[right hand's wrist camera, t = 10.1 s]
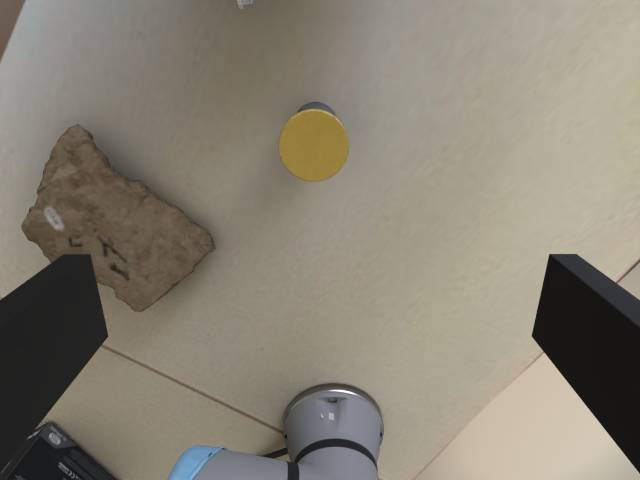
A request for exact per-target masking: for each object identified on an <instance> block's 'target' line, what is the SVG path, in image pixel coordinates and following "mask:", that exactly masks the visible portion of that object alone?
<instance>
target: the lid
mask: <svg viewBox="0 0 640 480" xmlns="http://www.w3.org/2000/svg"><path fill="white" fill-rule="evenodd" d="M348 151H349V142H348V137H347V134H346V131H345V129H344V127H343V125H342V123H341V122H340V121H339V120H338V119H337V118H336V117H335V116H334V115H332V114H331V113H329V112H327V111H324V110H320V109H308V110H304V111H301V112H299V113H297V114H296V115H294V116H293V117H292V118H291V119H290V120H289V121H288V122H287V123H286V125H285V127H284V128H283V130H282V132H281V135H280V139H279V153H280V157H281V159H282V162H283V163H284V165H285V167H286V168H287V169H288V170H289V171H290V172H291V173H292V174H293V175H295V176H296V177H298V178H300V179H303V180H306V181H322V180H325V179H328V178H330V177H332V176H333V175H335V174H336V173H337V172H338V171H339V170H340V169H341V168H342V166H343V165H344V163H345V161H346V159H347V156H348Z"/></svg>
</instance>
